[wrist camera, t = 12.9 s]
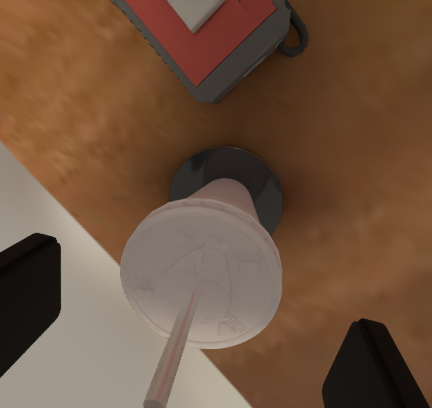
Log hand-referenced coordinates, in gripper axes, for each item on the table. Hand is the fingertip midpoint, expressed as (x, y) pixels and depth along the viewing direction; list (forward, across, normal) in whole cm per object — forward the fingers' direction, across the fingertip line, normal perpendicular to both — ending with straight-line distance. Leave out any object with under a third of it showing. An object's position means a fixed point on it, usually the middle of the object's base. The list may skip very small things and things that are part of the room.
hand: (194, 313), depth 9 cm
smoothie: (+12, 0, 0) cm, 12 cm away
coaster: (+12, 0, +1) cm, 12 cm away
